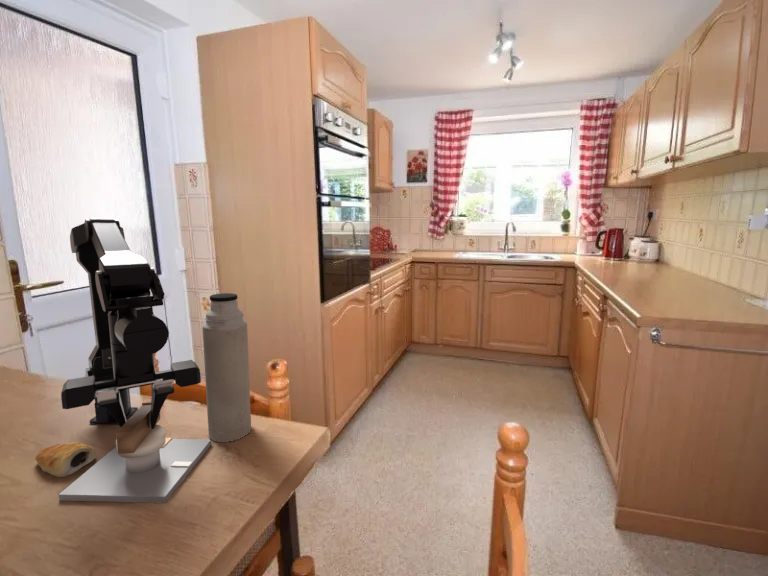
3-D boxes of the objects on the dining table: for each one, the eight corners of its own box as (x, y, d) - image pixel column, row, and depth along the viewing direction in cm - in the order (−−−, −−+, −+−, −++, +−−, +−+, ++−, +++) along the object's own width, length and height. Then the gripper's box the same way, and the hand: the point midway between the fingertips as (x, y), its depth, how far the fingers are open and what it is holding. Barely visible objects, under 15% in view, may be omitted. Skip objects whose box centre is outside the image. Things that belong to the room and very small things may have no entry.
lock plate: (127, 442, 77) (125, 423, 76) (211, 444, 77) (210, 424, 76) (59, 500, 61) (56, 476, 60) (165, 502, 61) (163, 478, 60)
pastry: (23, 469, 68) (20, 448, 68) (65, 449, 75) (63, 429, 74) (62, 481, 66) (60, 459, 65) (102, 459, 72) (100, 439, 71)
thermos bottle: (221, 420, 86) (214, 290, 81) (257, 423, 85) (252, 291, 80) (200, 441, 78) (191, 297, 73) (240, 443, 77) (234, 299, 72)
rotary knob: (102, 467, 62) (98, 432, 61) (134, 430, 73) (131, 399, 72) (151, 463, 63) (148, 428, 62) (175, 427, 74) (173, 397, 73)
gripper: (187, 322, 77) (192, 400, 79) (62, 336, 66) (72, 425, 69) (198, 336, 68) (203, 423, 70) (55, 355, 57) (67, 457, 60)
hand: (140, 430), depth 67 cm, fingers closed on rotary knob, 3 cm apart
